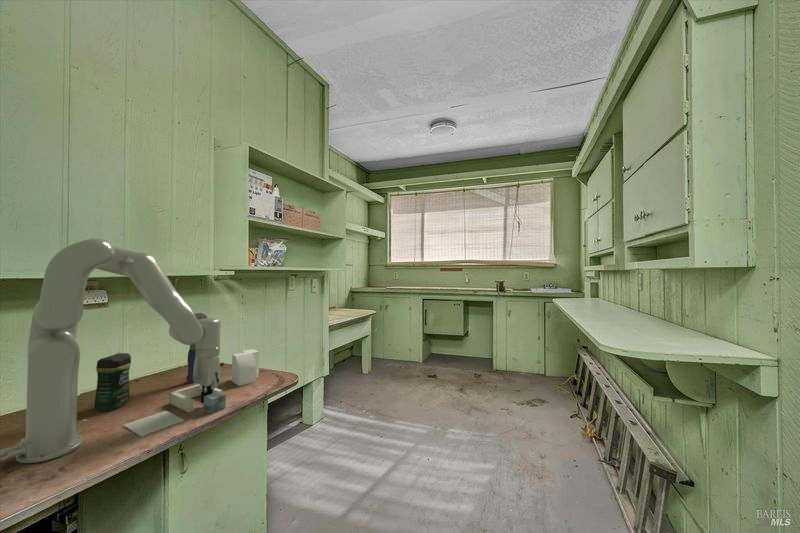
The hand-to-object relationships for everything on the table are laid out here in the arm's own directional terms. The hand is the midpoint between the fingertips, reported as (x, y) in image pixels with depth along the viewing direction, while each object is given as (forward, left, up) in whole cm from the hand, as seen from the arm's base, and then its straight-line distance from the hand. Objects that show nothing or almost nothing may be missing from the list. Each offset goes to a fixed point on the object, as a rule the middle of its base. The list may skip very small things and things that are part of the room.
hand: (206, 401), depth 118 cm
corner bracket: (+25, +13, -2) cm, 28 cm away
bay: (0, +7, -2) cm, 7 cm away
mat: (-16, +1, -2) cm, 16 cm away
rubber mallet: (+10, +29, -2) cm, 31 cm away
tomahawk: (+22, +37, -2) cm, 43 cm away
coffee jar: (-18, +27, -2) cm, 33 cm away
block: (0, -5, -2) cm, 5 cm away
